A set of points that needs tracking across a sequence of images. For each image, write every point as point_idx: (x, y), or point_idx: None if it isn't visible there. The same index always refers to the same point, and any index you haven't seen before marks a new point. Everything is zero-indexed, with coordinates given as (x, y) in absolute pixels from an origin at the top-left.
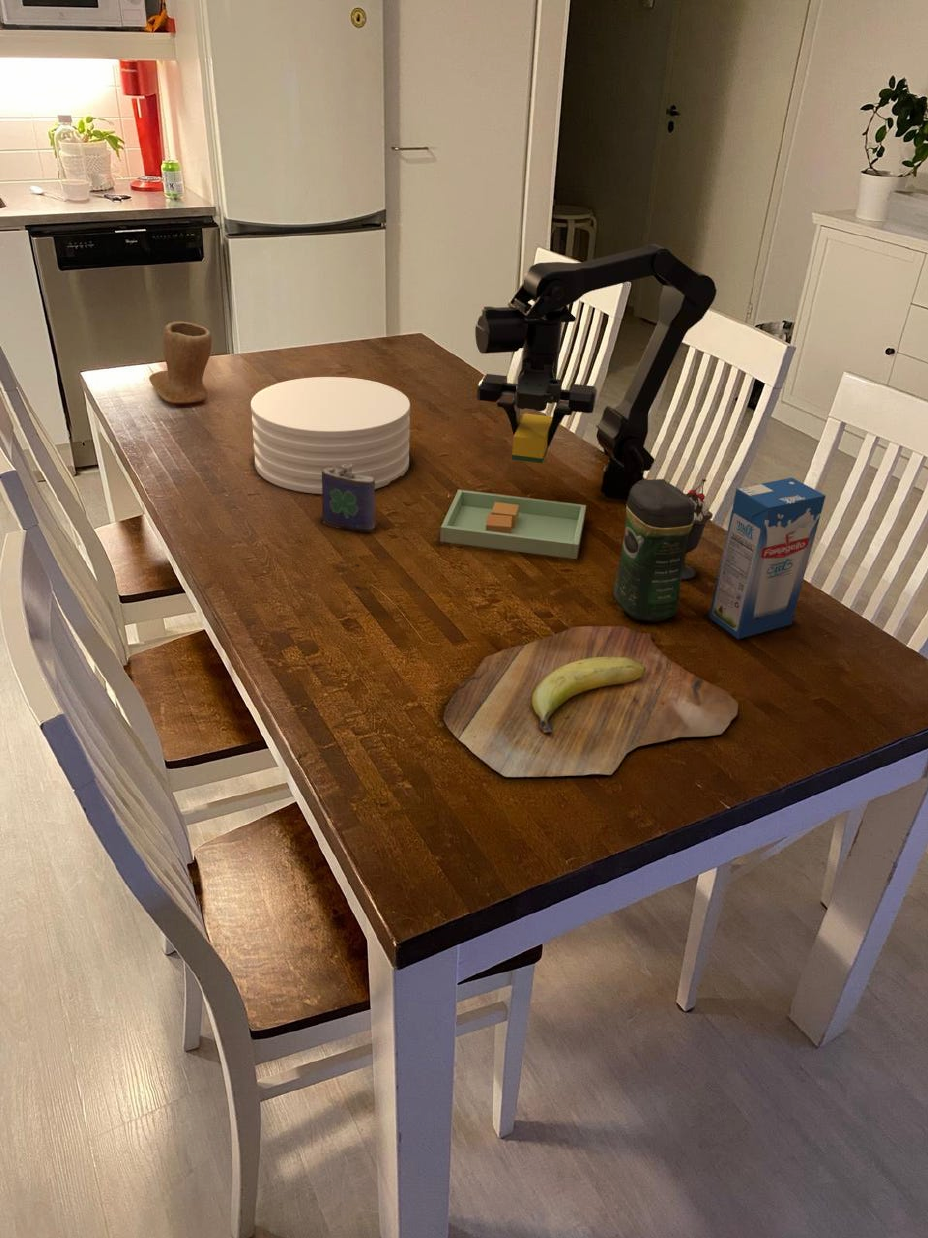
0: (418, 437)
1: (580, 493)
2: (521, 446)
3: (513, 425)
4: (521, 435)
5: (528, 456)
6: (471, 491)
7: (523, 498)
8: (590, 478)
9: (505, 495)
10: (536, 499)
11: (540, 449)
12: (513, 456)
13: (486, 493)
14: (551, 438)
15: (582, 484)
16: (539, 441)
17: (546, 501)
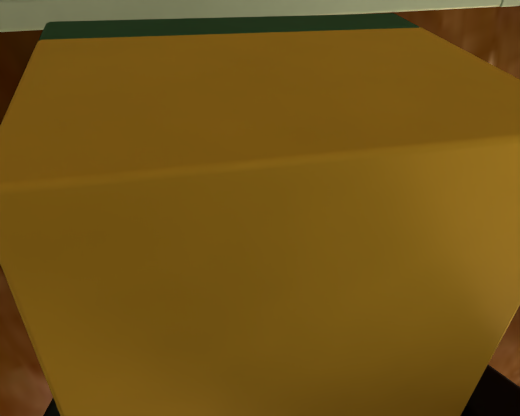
0: (513, 361)
1: (2, 278)
2: (384, 73)
3: (515, 406)
4: (473, 211)
5: (236, 33)
6: (463, 2)
7: (190, 6)
8: (19, 378)
9: (294, 13)
10: (113, 18)
11: (76, 87)
12: (400, 19)
13: (392, 3)
14: (53, 412)
15: (27, 336)
16: (103, 150)
17: (43, 8)
